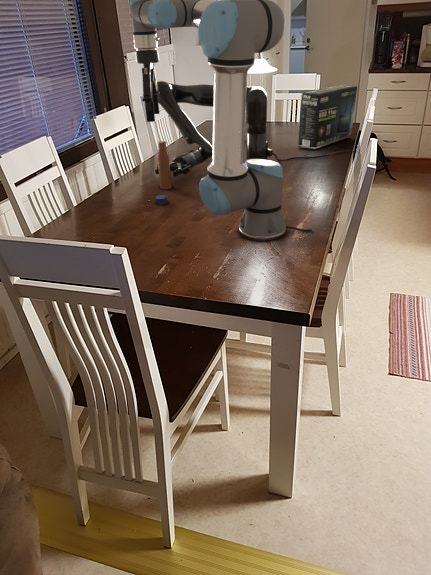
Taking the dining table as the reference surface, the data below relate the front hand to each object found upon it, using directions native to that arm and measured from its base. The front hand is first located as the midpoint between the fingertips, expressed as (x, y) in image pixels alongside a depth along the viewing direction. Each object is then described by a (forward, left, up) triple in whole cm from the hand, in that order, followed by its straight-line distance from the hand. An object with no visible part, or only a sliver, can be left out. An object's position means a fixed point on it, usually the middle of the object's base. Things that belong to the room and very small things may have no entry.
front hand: (153, 117), depth 160 cm
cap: (0, 0, -29) cm, 29 cm away
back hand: (+9, -15, -25) cm, 31 cm away
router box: (-28, -110, -31) cm, 118 cm away
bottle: (+9, -15, -31) cm, 36 cm away
